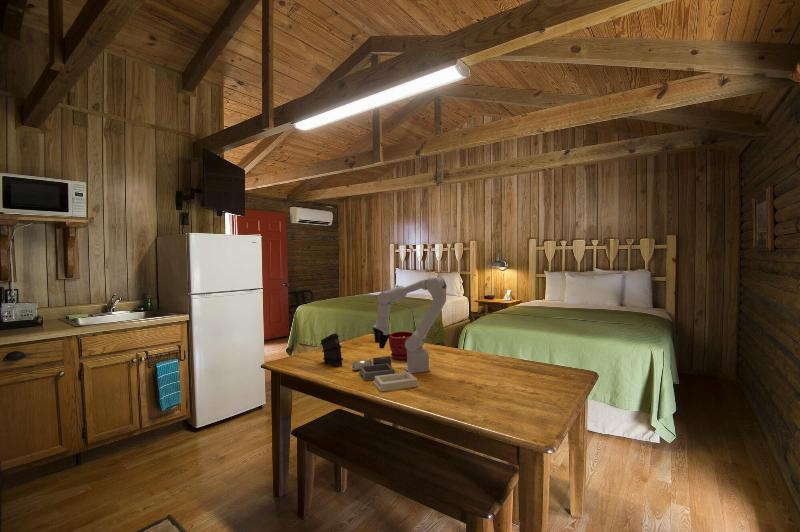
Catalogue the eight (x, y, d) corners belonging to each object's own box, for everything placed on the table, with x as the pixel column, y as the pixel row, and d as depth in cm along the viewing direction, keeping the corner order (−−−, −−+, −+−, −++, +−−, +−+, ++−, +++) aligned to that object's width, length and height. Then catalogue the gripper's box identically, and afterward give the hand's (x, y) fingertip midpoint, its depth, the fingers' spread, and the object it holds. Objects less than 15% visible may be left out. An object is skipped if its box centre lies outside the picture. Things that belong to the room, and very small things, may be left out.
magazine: (340, 365, 178) (331, 334, 181) (326, 371, 186) (317, 341, 190) (346, 363, 180) (338, 332, 184) (332, 369, 189) (324, 340, 193)
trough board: (409, 378, 164) (409, 371, 164) (418, 386, 154) (418, 379, 154) (373, 383, 159) (373, 376, 158) (380, 391, 149) (379, 384, 149)
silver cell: (369, 361, 180) (371, 358, 177) (370, 369, 178) (372, 367, 175) (351, 363, 178) (352, 360, 174) (352, 372, 176) (353, 369, 172)
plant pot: (391, 353, 202) (390, 330, 201) (416, 354, 200) (416, 331, 199) (387, 361, 189) (386, 336, 188) (413, 361, 187) (413, 337, 186)
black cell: (389, 364, 185) (388, 356, 186) (391, 364, 181) (390, 355, 182) (371, 366, 182) (371, 358, 183) (373, 366, 178) (373, 357, 179)
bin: (387, 369, 175) (387, 363, 175) (394, 376, 166) (394, 369, 166) (359, 373, 171) (359, 366, 171) (365, 380, 161) (364, 373, 161)
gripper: (370, 312, 184) (367, 340, 186) (379, 321, 171) (375, 350, 172) (384, 313, 186) (381, 340, 188) (394, 321, 173) (390, 350, 174)
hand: (379, 345), depth 180 cm, fingers open, 7 cm apart
